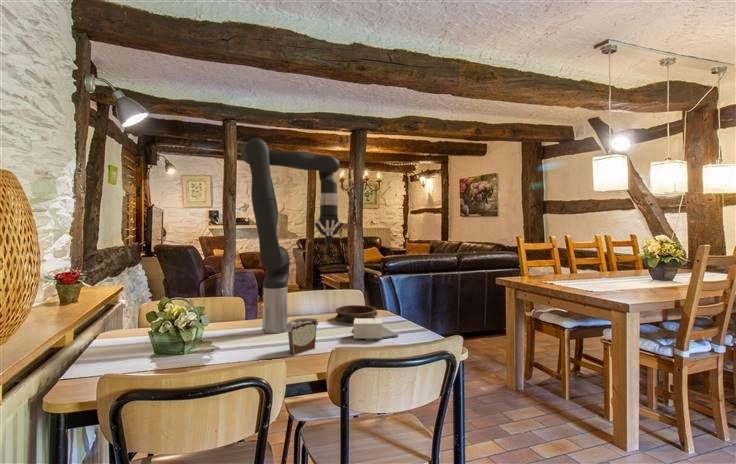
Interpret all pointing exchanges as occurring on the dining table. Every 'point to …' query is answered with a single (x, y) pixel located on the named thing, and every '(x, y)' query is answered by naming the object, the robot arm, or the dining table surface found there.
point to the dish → (354, 313)
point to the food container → (301, 335)
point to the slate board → (383, 334)
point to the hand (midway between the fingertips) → (328, 244)
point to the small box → (368, 328)
